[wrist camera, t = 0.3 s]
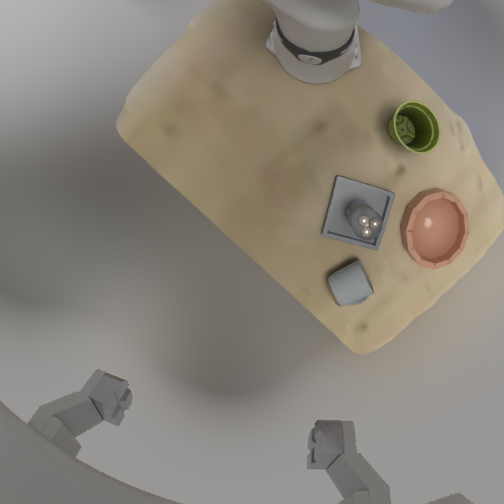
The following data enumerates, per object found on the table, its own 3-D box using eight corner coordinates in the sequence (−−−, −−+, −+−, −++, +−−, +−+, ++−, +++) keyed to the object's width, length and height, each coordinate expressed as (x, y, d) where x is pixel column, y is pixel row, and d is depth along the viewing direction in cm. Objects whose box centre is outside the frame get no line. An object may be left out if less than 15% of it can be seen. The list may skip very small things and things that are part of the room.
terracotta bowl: (413, 179, 46) (420, 181, 43) (469, 203, 44) (477, 207, 41) (391, 251, 52) (396, 257, 49) (446, 268, 50) (452, 274, 47)
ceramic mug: (323, 272, 57) (325, 290, 50) (356, 253, 54) (363, 269, 47) (344, 307, 59) (348, 327, 52) (376, 290, 56) (383, 309, 49)
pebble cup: (348, 196, 49) (358, 206, 40) (374, 203, 49) (388, 215, 40) (341, 222, 52) (349, 237, 42) (366, 229, 51) (378, 245, 42)
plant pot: (409, 101, 40) (426, 94, 32) (428, 144, 43) (448, 144, 35) (372, 115, 43) (384, 109, 35) (392, 159, 46) (408, 161, 38)
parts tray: (336, 175, 49) (337, 176, 47) (392, 192, 48) (395, 193, 46) (321, 232, 54) (322, 235, 52) (375, 247, 53) (377, 250, 51)
